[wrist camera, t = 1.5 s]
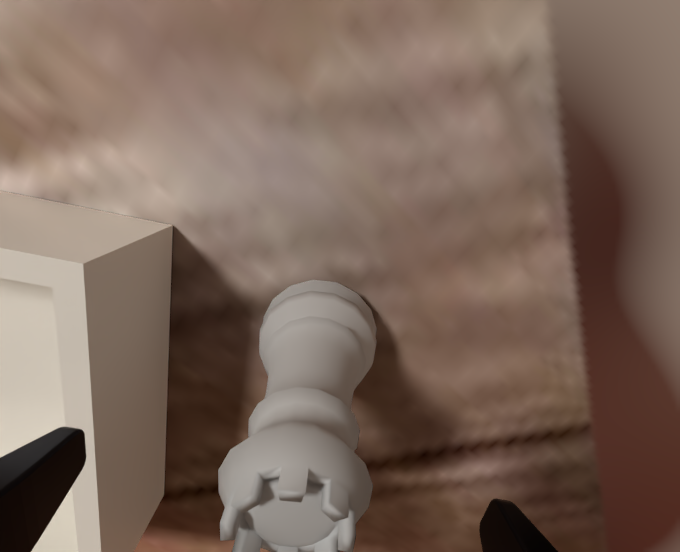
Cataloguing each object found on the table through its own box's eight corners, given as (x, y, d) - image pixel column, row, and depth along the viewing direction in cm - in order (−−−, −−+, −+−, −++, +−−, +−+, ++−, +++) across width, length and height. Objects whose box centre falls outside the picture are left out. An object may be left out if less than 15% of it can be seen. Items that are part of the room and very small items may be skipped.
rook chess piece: (355, 385, 15) (363, 629, 7) (254, 357, 14) (151, 583, 7) (391, 294, 13) (449, 483, 6) (280, 260, 13) (185, 415, 5)
